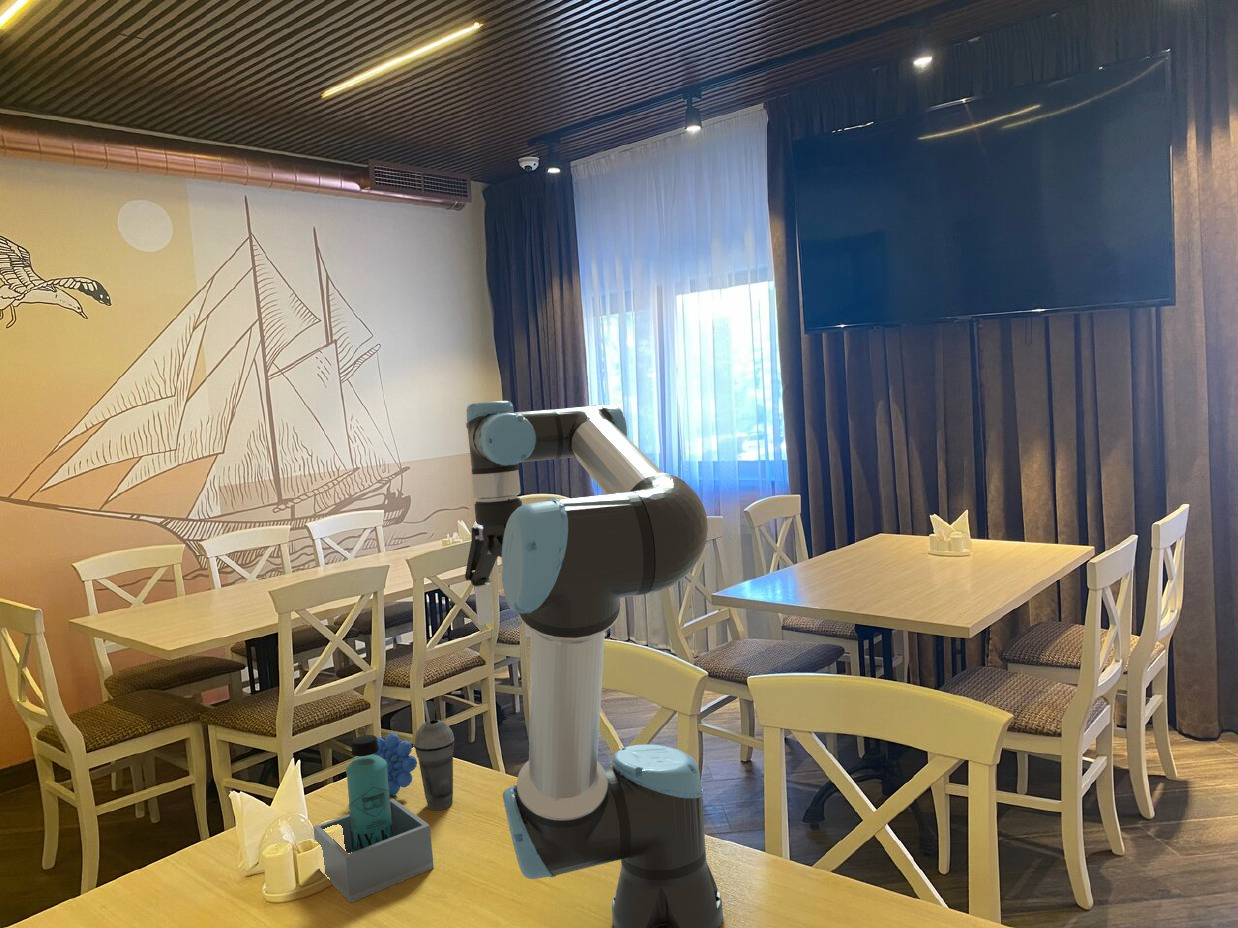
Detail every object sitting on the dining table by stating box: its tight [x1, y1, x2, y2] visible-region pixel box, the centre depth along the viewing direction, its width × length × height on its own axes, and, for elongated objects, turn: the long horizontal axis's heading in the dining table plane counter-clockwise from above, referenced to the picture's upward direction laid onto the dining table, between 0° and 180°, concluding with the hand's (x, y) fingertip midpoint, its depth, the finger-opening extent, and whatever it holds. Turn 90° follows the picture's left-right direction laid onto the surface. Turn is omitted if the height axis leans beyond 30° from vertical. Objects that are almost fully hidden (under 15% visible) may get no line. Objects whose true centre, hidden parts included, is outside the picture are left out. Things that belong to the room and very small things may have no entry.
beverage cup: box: [413, 697, 456, 811], centre depth 164 cm, size 7×7×20 cm
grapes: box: [374, 733, 418, 797], centre depth 170 cm, size 12×7×12 cm, turn 75°
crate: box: [313, 798, 435, 904], centre depth 143 cm, size 14×14×7 cm
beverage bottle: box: [345, 734, 394, 852], centre depth 143 cm, size 6×7×20 cm
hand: (509, 629), depth 146 cm, fingers open, 13 cm apart
